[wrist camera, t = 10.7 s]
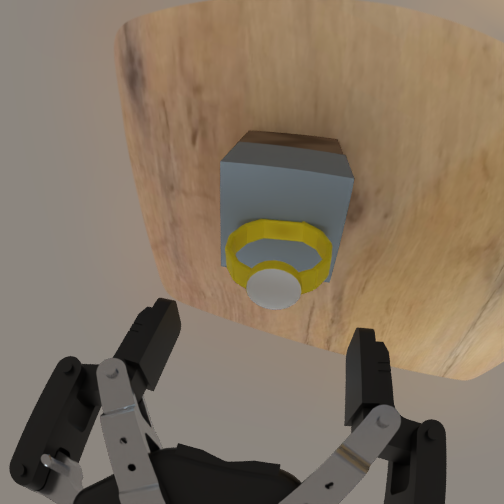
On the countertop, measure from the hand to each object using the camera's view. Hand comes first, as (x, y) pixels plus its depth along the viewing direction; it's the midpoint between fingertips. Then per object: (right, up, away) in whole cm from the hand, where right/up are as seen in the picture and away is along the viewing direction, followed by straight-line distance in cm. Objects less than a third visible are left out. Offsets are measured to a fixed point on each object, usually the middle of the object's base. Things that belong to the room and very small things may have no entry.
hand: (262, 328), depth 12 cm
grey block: (+2, +8, +10) cm, 13 cm away
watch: (+2, +5, +7) cm, 8 cm away
